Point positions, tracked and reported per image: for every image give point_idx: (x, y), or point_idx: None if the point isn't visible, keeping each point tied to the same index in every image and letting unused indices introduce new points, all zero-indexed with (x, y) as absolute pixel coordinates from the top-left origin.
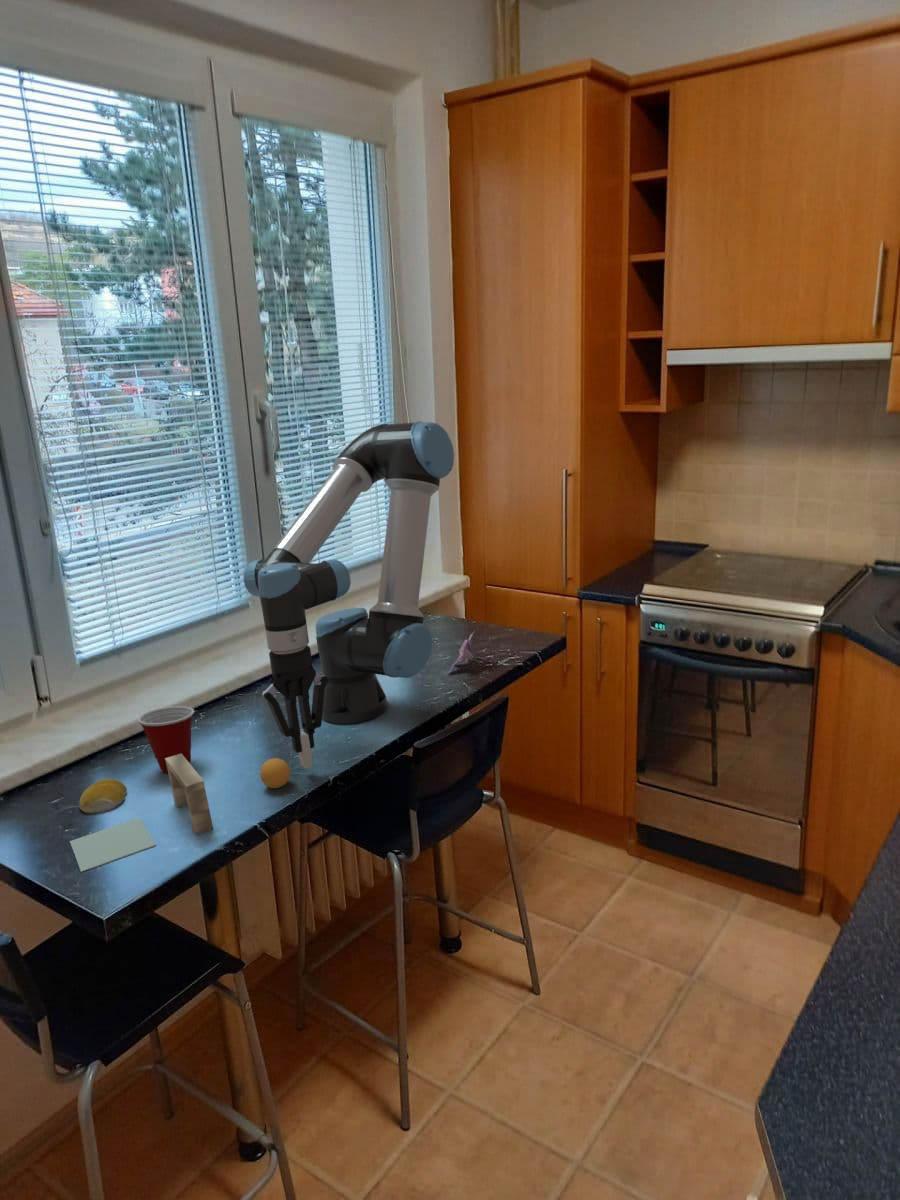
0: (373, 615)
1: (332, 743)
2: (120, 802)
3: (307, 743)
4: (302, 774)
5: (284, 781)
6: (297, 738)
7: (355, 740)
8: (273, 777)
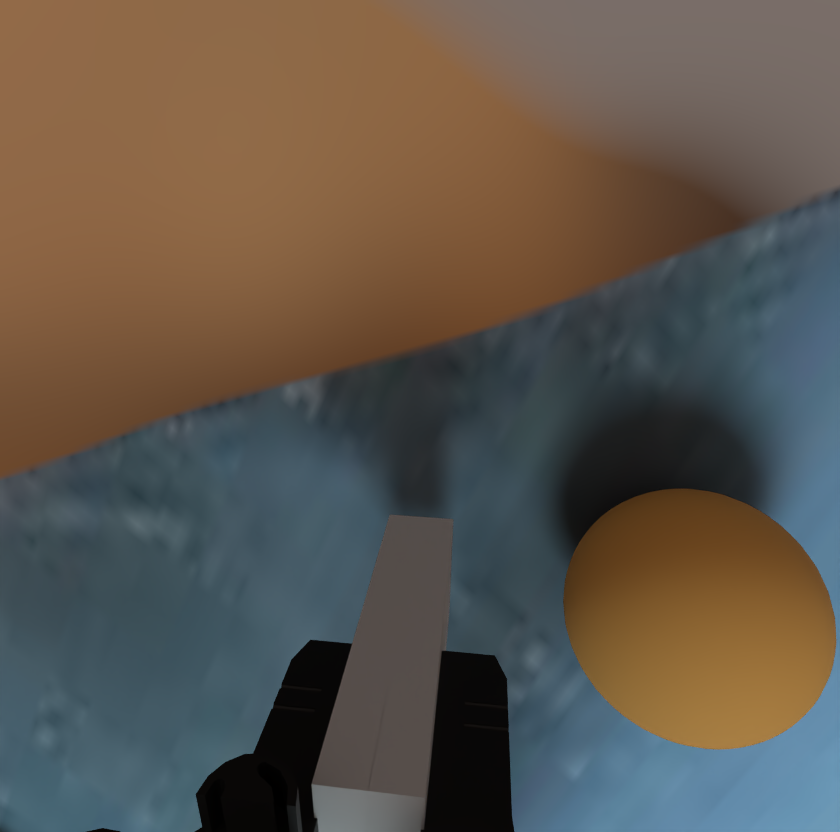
0: None
1: (147, 746)
2: None
3: (367, 685)
4: None
5: (659, 491)
6: (464, 810)
7: (22, 690)
8: (777, 535)
